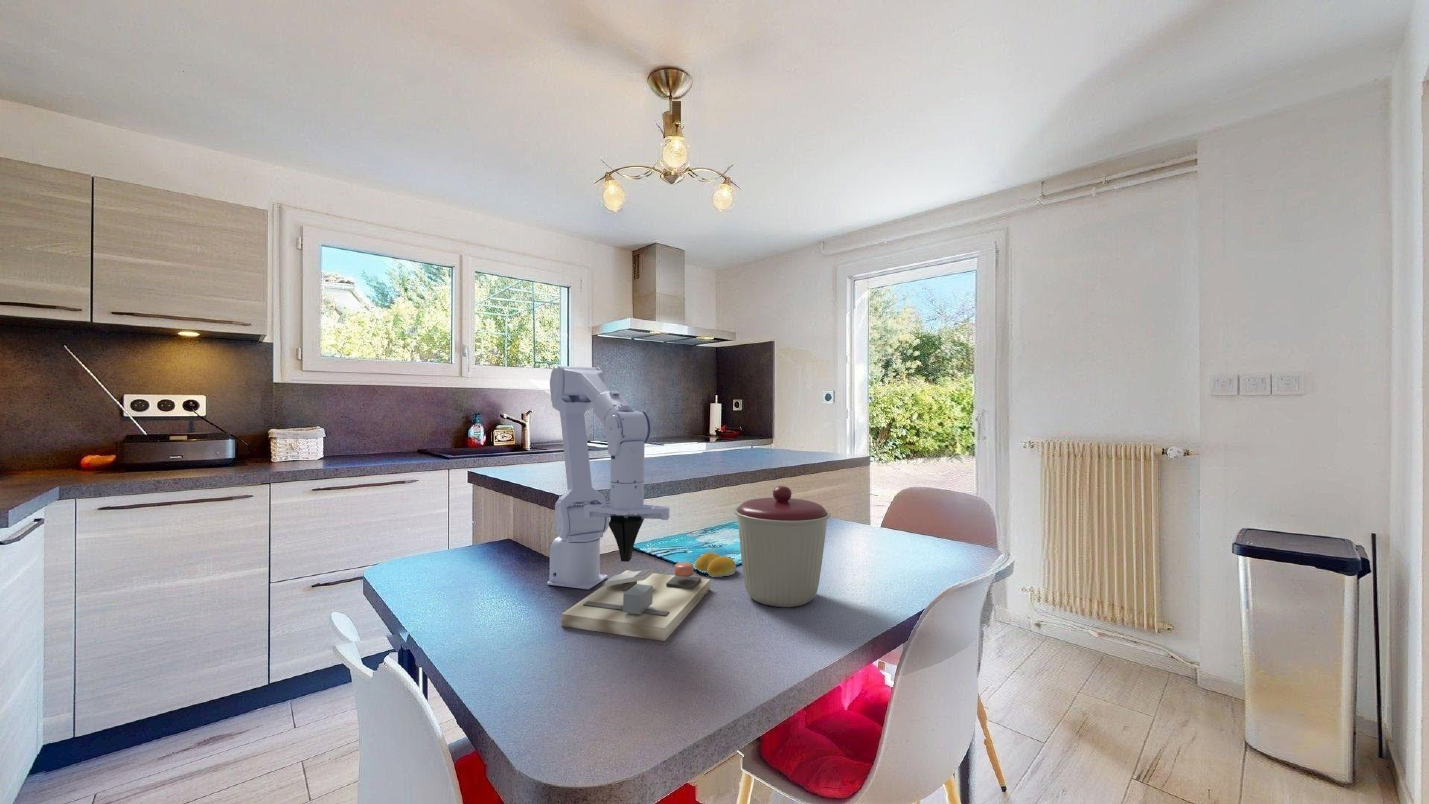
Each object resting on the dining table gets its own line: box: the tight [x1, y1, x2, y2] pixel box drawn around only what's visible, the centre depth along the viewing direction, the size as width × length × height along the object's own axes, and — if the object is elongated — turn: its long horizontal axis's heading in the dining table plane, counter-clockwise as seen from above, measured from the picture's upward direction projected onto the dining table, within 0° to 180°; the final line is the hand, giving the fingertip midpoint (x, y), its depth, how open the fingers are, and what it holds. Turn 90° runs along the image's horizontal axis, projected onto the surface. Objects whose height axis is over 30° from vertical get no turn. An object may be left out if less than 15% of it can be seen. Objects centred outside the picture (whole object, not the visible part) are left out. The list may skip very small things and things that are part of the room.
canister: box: [733, 485, 832, 608], centre depth 102 cm, size 18×18×21 cm
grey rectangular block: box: [623, 584, 653, 614], centre depth 89 cm, size 3×5×3 cm, turn 164°
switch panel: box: [560, 569, 711, 642], centre depth 96 cm, size 18×24×3 cm
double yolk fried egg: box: [694, 552, 737, 577], centre depth 117 cm, size 8×9×4 cm
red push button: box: [674, 562, 695, 577], centre depth 103 cm, size 4×4×2 cm
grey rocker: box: [604, 568, 654, 586], centre depth 100 cm, size 8×4×1 cm, turn 74°
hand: (626, 560), depth 93 cm, fingers closed
